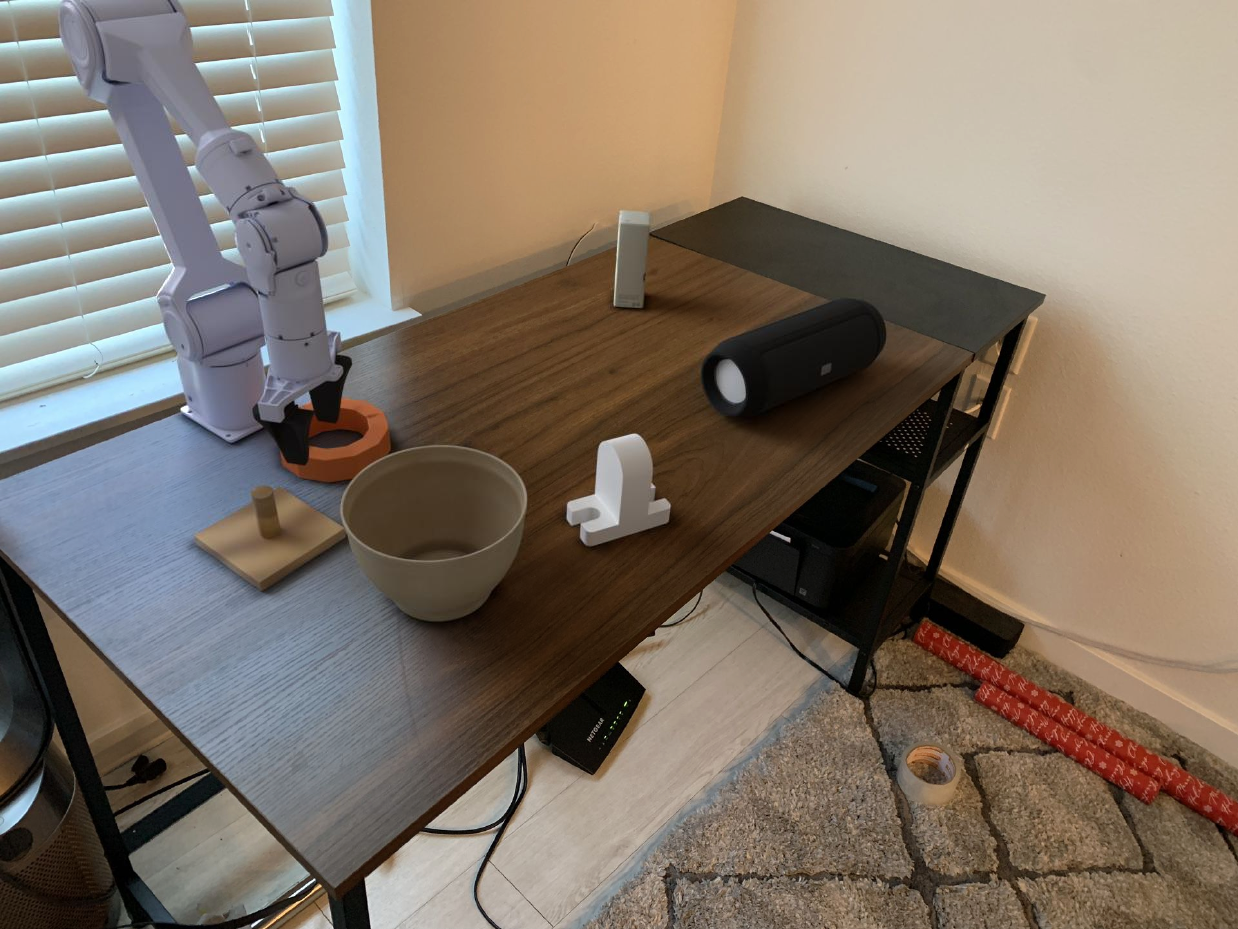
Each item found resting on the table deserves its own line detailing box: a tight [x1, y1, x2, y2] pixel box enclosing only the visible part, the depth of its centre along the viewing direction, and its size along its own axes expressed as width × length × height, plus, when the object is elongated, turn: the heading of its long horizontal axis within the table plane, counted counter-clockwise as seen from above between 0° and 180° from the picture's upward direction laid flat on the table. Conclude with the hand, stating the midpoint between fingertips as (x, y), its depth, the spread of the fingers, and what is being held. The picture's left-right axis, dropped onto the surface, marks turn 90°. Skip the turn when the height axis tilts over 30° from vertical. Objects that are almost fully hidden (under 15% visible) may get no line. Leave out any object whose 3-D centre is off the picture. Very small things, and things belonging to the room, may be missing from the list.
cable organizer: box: [566, 433, 671, 547], centre depth 96 cm, size 5×10×10 cm, turn 119°
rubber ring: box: [279, 397, 392, 483], centre depth 104 cm, size 12×12×3 cm
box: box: [613, 209, 651, 309], centre depth 135 cm, size 5×4×13 cm
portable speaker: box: [700, 297, 888, 419], centre depth 119 cm, size 26×10×10 cm, turn 129°
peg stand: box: [193, 485, 347, 592], centre depth 91 cm, size 10×10×6 cm
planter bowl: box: [339, 444, 528, 622], centre depth 86 cm, size 16×16×11 cm
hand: (313, 440), depth 98 cm, fingers open, 7 cm apart
